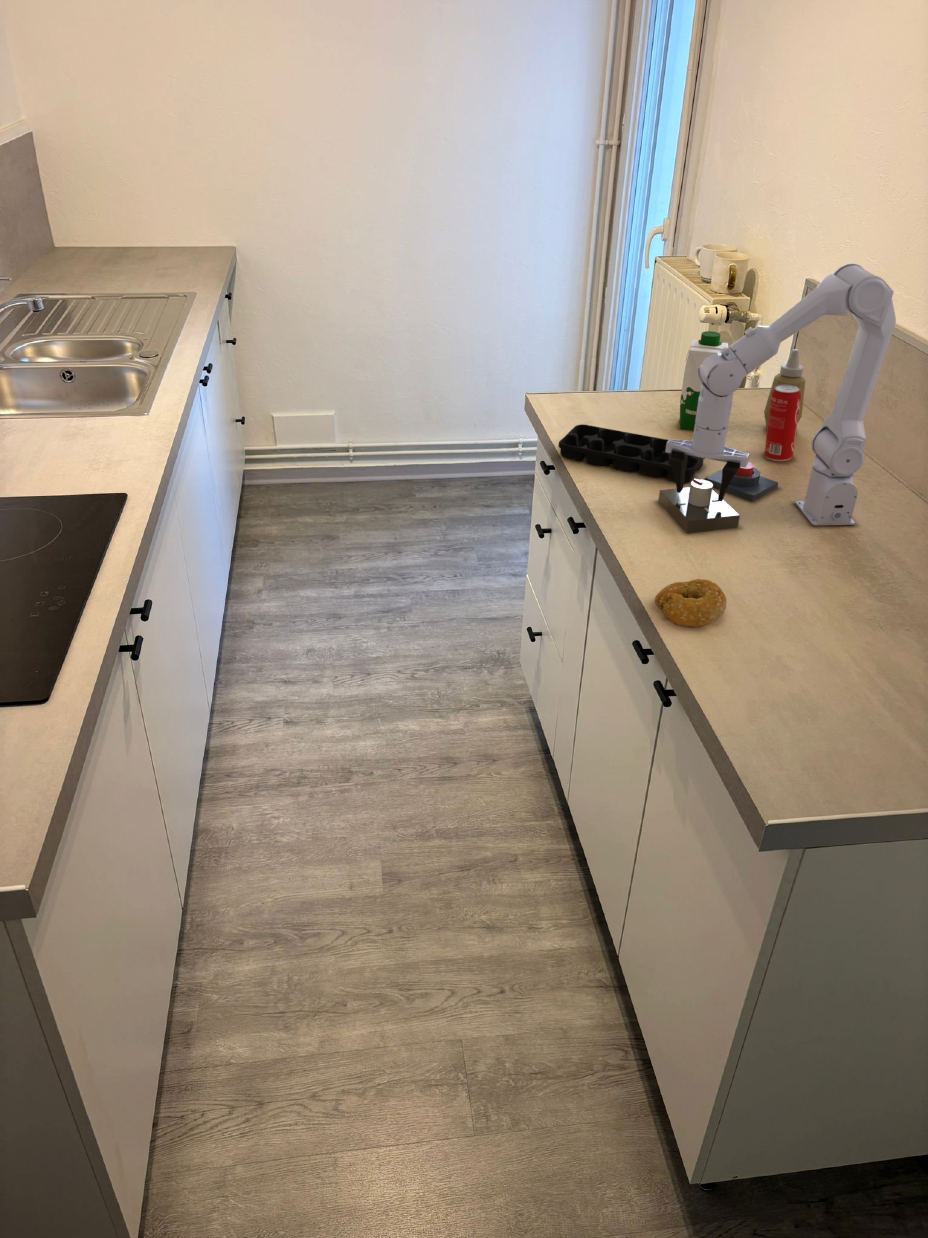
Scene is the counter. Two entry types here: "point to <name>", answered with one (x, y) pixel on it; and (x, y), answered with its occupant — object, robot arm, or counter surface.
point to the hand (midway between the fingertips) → (700, 494)
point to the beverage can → (782, 422)
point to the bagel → (692, 602)
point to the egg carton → (623, 451)
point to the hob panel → (698, 512)
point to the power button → (746, 470)
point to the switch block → (745, 485)
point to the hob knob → (700, 493)
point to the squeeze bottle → (788, 381)
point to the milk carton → (696, 375)
